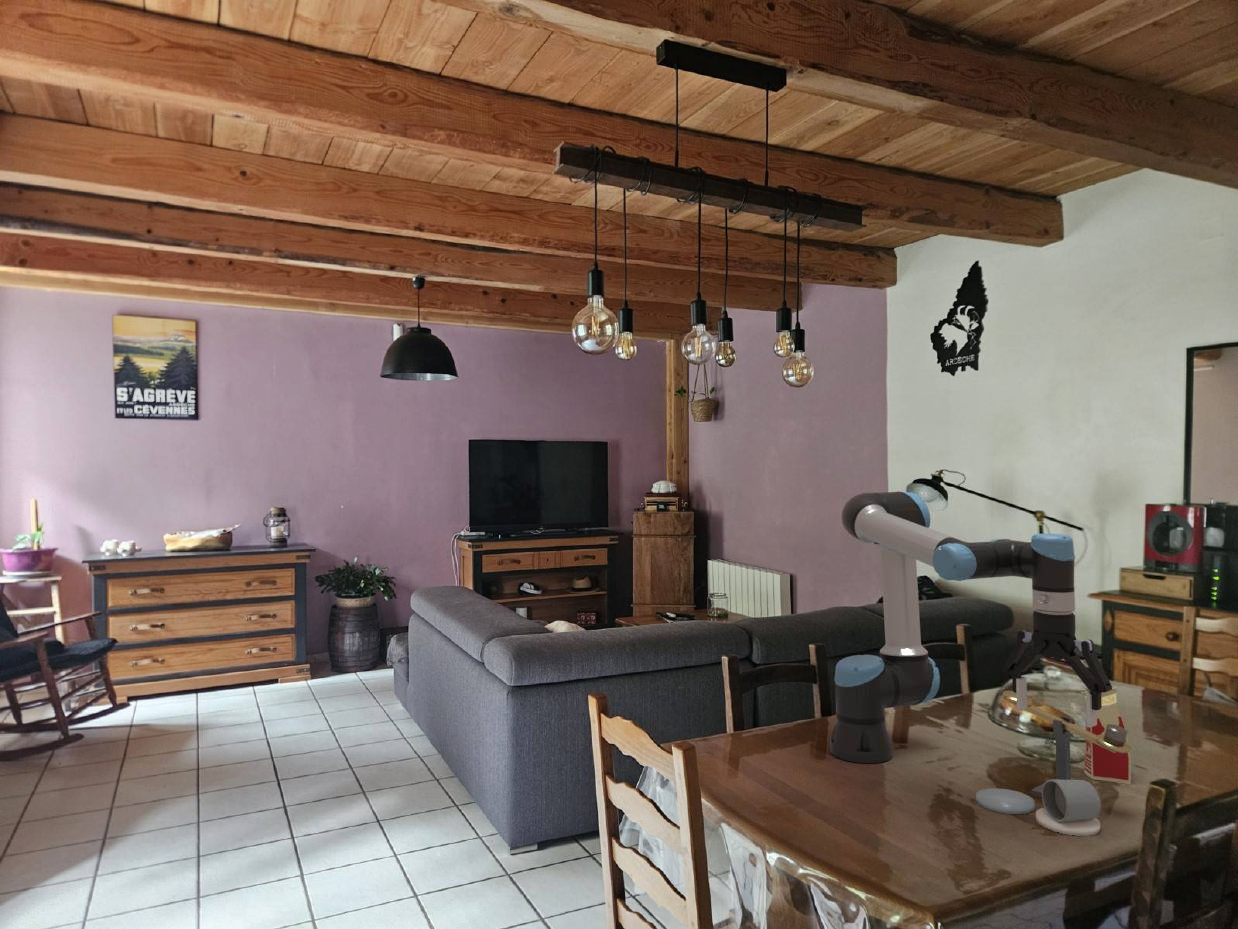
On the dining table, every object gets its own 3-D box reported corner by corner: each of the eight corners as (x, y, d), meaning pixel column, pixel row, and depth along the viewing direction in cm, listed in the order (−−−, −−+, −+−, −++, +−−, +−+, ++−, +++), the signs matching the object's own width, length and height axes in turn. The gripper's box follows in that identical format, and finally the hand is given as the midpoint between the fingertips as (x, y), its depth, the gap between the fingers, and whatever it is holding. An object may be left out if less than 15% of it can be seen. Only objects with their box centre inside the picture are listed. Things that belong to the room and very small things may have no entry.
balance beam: (996, 700, 178) (1000, 681, 177) (1009, 695, 182) (1014, 676, 181) (1120, 760, 158) (1126, 739, 157) (1133, 753, 161) (1139, 733, 160)
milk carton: (1126, 771, 183) (1123, 683, 184) (1133, 785, 175) (1130, 693, 175) (1081, 765, 187) (1078, 680, 188) (1085, 779, 179) (1082, 689, 179)
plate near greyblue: (965, 802, 168) (965, 797, 168) (993, 789, 174) (993, 784, 174) (1017, 819, 159) (1017, 814, 159) (1044, 805, 165) (1044, 800, 165)
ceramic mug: (1106, 825, 153) (1104, 784, 153) (1067, 829, 151) (1065, 787, 152) (1067, 804, 163) (1065, 766, 163) (1030, 807, 162) (1029, 769, 162)
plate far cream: (1025, 822, 157) (1025, 816, 158) (1052, 807, 164) (1052, 802, 164) (1084, 841, 149) (1084, 835, 149) (1110, 825, 155) (1110, 819, 155)
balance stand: (1031, 794, 171) (1028, 717, 171) (1049, 785, 176) (1046, 710, 176) (1080, 809, 163) (1077, 728, 163) (1098, 799, 168) (1095, 720, 168)
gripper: (984, 605, 168) (985, 706, 168) (1112, 622, 148) (1114, 737, 148) (1002, 601, 173) (1004, 699, 172) (1130, 617, 152) (1132, 729, 152)
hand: (1055, 717), depth 160 cm, fingers open, 13 cm apart
